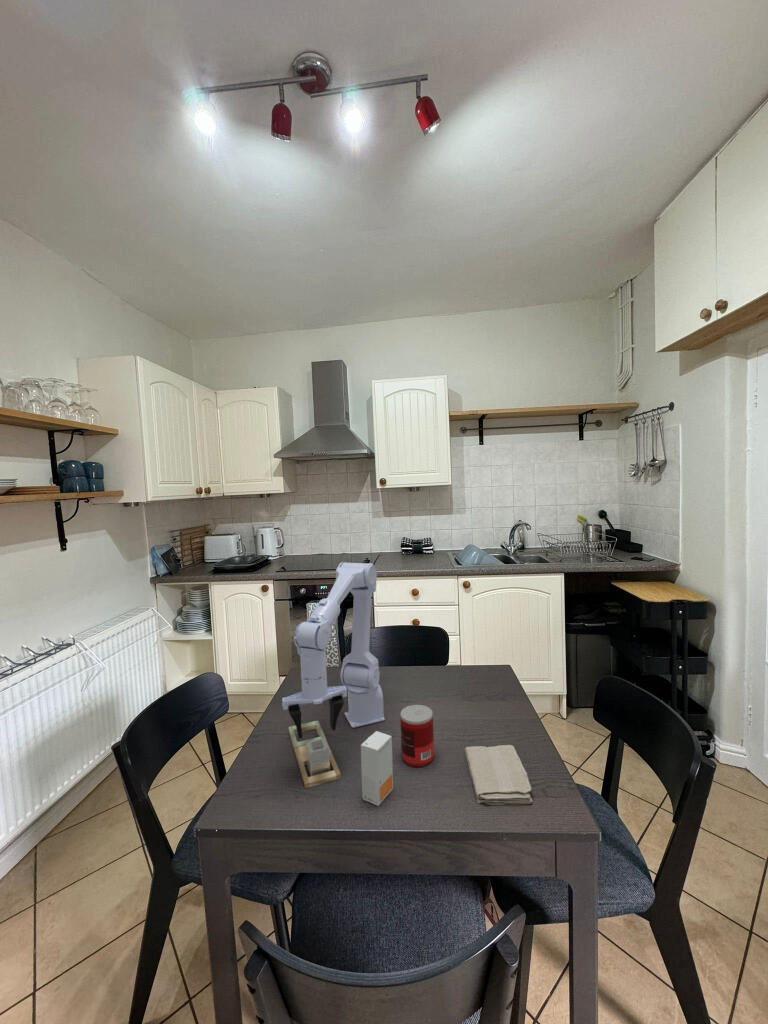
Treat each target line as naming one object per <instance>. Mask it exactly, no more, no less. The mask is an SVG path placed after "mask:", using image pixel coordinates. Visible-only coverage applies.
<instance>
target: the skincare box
mask: <svg viewBox="0 0 768 1024" xmlns="http://www.w3.org/2000/svg"><path fill="white" fill-rule="evenodd" d="M392 739H393V738H392V735H389V734H387V733H384V732H381V731H377V730H375V731H374V733H372V734H371V735H369V736H368V737H367V739H365V740H364V741H363V742H362V743H361V744H360V761H361V762H360V764H361V765H360V766H361V771H360V772H361V793H362V794H361V795H362V797H361V798H362V800H364V801H366V802H367V803H370V804H373V805H375V806H377V807H380V805H381V804H382V802H384V800H385V799H386V798H387V797H388V795H389V794H391V792H392V791H394V779H393V778H394V775H393V772H394V771H393V740H392Z"/></svg>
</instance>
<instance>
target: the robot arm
mask: <svg viewBox="0 0 768 1024" xmlns="http://www.w3.org/2000/svg"><path fill="white" fill-rule="evenodd" d="M377 578H378V573H377V570H376V567H375V565H374V564H373V563H372V562H369V563H366V562H365V563H364V562H361V563H360V562H345V561H342V562H340V563H339V564H338V566H337V567H336V569H335V581H334V584H333V586H332V588H331V589H330V591H329V593H328V595H327V598H322V599H320V600H319V601H318V603H317V604H316V606H315V608H314V609H313V611H312V612H311V613H310V614H309V616H308V619H306V621H302V622H301V623H300V624H298V625H297V627H296V628H295V631H294V637H293V644H294V645H295V647H296V648H297V654H298V656H300V657H299V658H300V677H301V691H299V692H296V693H294V694H291V695H289V696H285V697H282V698H281V704H282V709H283V711H286V710H287V711H288V714H289V716H290V717H291V719H292V721H293V723H294V726H296V728H297V737H298V739H303V732H302V728H301V724H302V711H301V707H300V706H303V705H307V704H313V705H314V706H315V705H320V704H323V702H324V701H326V700H328V702H329V724H330V725H329V727H330V728H331V730H332V731H336V728H337V722H338V718H339V716H340V713H341V711H342V708H343V706H344V699H343V698H347V702H348V706H347V707H348V711H345V712H344V715H345V718H346V719H347V721H348V723H349V725H350V726H351V728H352V729H354V728H358V727H363V726H366V725H371V724H376V723H379V722H383V721H385V720H386V718H385V716H384V695H383V689H382V687H381V685H380V684H379V682H380V676H381V675H380V674H381V673H380V668H379V660H378V658H377V657H376V656H374V655H373V653H371V651H370V640H371V639H370V635H371V613H372V611H371V609H372V593H375V592H377V590H376V589H377ZM349 593H351V595H352V597H353V604H352V605H353V609H352V626H351V627H352V629H351V631H352V632H351V651H350V653H349V654H347V655H346V656H345V657H344V658H343V659H342V667H341V670H340V675H339V676H340V681H341V684H342V685H337V686H328V679H327V677H328V675H327V654H326V652H327V651H326V648H327V647H328V645H329V642H330V640H331V639H330V638H331V634H332V631H333V629H332V627H333V625H334V624H335V622H336V620H337V619H338V617H339V616H340V613H341V608H340V605H342V602H343V601H344V600H345V598H347V596H348V594H349Z"/></svg>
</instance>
